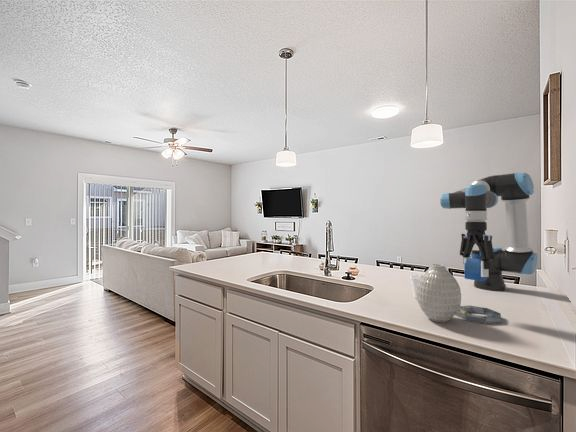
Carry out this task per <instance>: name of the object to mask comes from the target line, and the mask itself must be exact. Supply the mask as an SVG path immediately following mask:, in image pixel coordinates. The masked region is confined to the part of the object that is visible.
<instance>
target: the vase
mask: <svg viewBox="0 0 576 432" xmlns="http://www.w3.org/2000/svg"><path fill="white" fill-rule="evenodd" d="M421 275H422V276H421V277H420V279H419V281H418V283H417V288H416V296H417V299H416V300H417V304H418V306H419V307H420V310H421V311H422V312H423V313H424V315H425V316H426V317H427V318H428V319H429V320H431V321H433V322H437V323H447V322H448V321H450V320H451V319H453V318H454V316H456V315H455V314H456V313H457V311H458V310H459V307H460V306H461V303H462V292H461V287H460V284H459V283H458V281H457V279H456V277H454V275H453V274H452V273H451V272H449V270H448V269H447V268H446V267H445V265H444V264H440V263H433V264H432V263H431V264H430V267H429V268H427V270H426V271H424V272H423V274H421Z"/></svg>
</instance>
